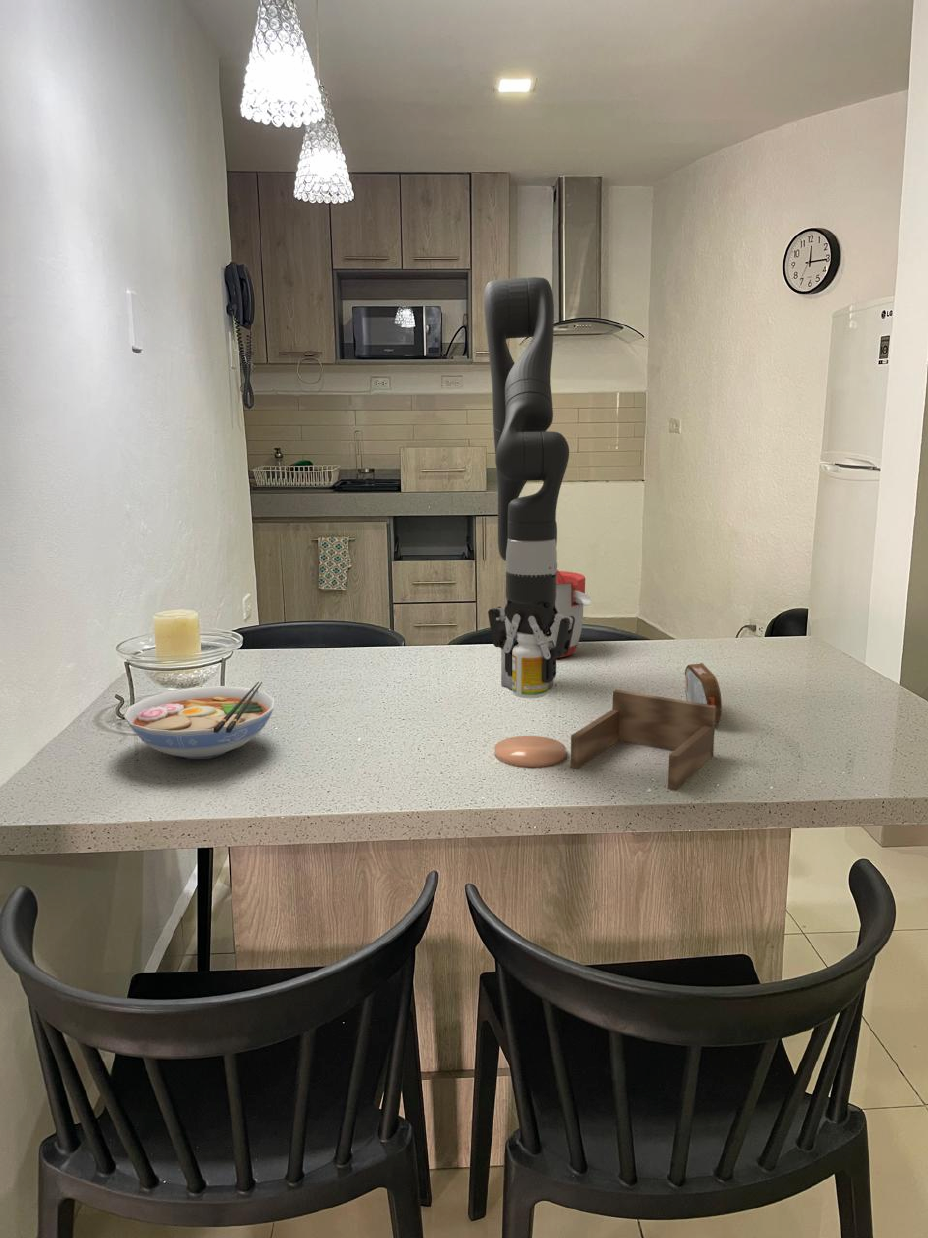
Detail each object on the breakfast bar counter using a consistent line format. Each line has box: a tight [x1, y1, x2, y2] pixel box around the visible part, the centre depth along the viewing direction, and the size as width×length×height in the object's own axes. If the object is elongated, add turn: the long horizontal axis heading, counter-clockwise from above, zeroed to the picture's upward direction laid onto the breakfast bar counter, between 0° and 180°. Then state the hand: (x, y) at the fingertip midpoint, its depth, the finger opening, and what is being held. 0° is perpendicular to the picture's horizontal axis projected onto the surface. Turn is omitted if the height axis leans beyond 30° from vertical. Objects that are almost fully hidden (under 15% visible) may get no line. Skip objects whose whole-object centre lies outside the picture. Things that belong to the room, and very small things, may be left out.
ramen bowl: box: [123, 681, 275, 760], centre depth 148 cm, size 25×23×8 cm
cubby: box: [570, 688, 716, 791], centre depth 143 cm, size 16×16×8 cm
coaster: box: [494, 735, 567, 768], centre depth 147 cm, size 11×11×1 cm
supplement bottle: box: [511, 632, 549, 699], centre depth 144 cm, size 5×5×10 cm
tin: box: [684, 662, 723, 724], centre depth 164 cm, size 15×3×8 cm, turn 1°
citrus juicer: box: [554, 569, 592, 660], centre depth 204 cm, size 16×17×20 cm
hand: (530, 678), depth 144 cm, fingers closed on supplement bottle, 5 cm apart
